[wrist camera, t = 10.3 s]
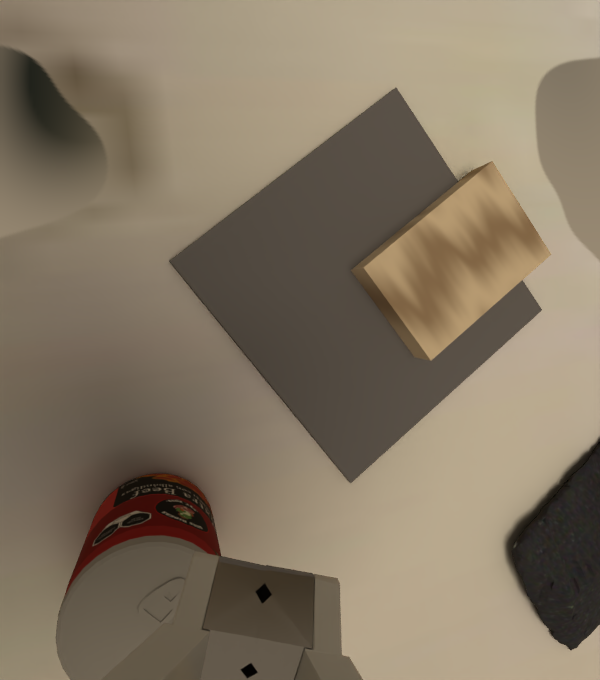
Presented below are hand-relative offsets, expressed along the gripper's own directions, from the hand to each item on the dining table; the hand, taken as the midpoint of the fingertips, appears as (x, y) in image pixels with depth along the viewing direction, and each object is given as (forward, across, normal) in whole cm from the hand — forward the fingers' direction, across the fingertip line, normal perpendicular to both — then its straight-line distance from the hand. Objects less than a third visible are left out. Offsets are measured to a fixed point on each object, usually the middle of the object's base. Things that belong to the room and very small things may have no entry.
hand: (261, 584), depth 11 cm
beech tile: (+26, -7, +3) cm, 27 cm away
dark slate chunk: (+28, -30, +17) cm, 45 cm away
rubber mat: (+28, -5, +2) cm, 29 cm away
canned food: (+18, +6, +18) cm, 27 cm away
